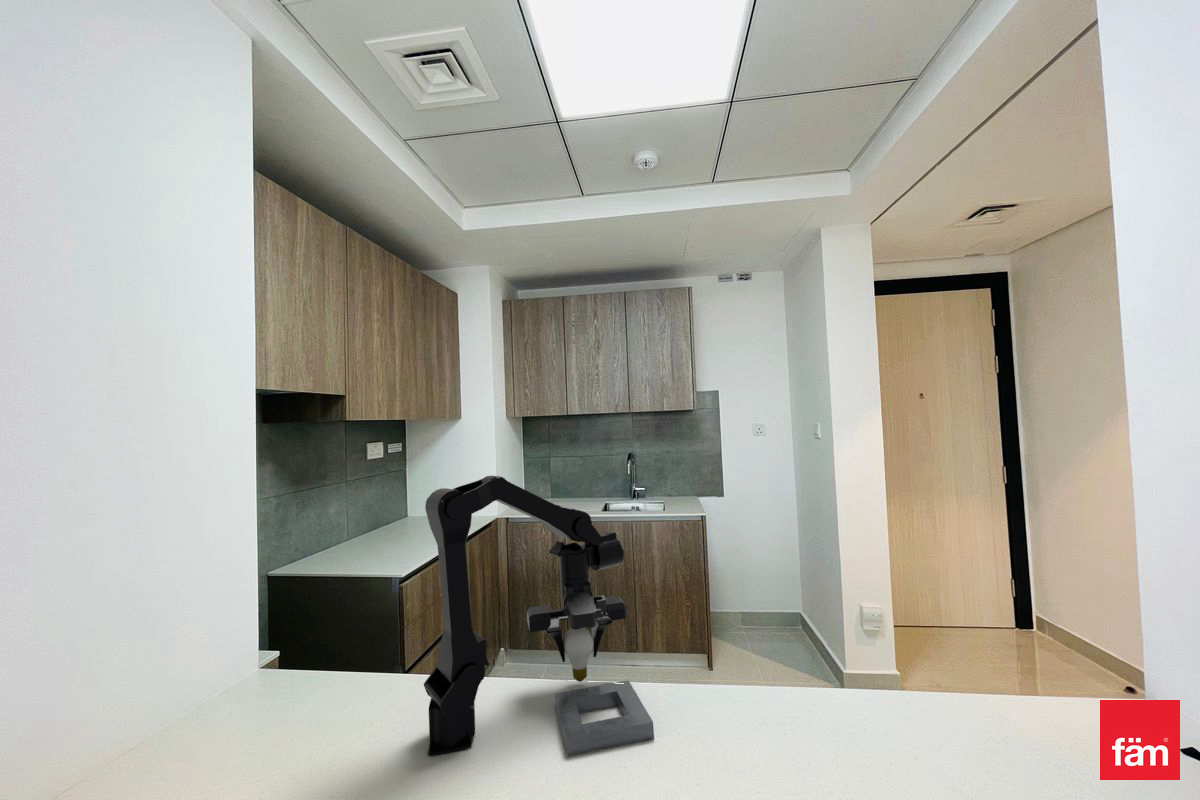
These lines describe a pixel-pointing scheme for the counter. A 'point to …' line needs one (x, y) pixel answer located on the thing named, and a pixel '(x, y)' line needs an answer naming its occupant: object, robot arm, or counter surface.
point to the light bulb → (578, 650)
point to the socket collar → (603, 732)
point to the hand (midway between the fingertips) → (579, 658)
